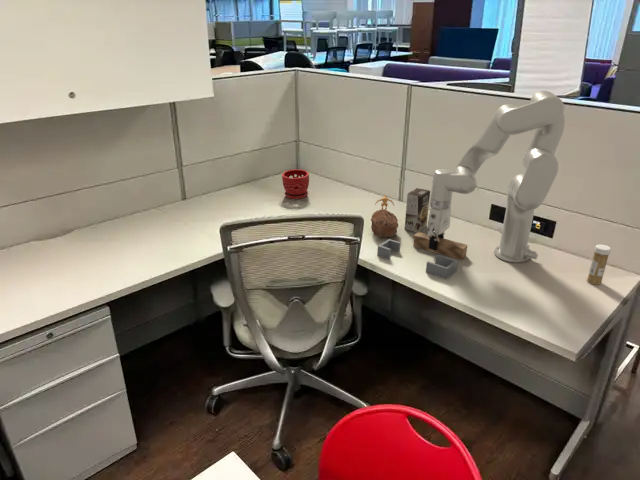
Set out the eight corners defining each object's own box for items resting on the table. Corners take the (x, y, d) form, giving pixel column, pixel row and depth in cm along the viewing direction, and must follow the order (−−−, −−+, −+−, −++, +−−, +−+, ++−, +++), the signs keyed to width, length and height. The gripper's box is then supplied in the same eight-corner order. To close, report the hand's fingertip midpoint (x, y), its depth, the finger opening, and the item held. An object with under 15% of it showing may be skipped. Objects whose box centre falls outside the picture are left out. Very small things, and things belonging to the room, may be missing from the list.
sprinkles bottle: (602, 286, 165) (612, 250, 160) (586, 283, 167) (596, 248, 161) (600, 280, 169) (610, 245, 163) (585, 277, 171) (595, 242, 165)
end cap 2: (456, 270, 176) (457, 260, 174) (446, 279, 170) (447, 269, 168) (436, 263, 180) (437, 254, 179) (425, 272, 175) (426, 262, 173)
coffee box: (417, 232, 205) (421, 196, 198) (403, 229, 208) (406, 193, 201) (427, 225, 211) (431, 190, 204) (414, 222, 215) (417, 187, 208)
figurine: (392, 217, 219) (394, 192, 214) (393, 223, 214) (395, 197, 209) (373, 217, 220) (375, 191, 215) (374, 222, 214) (375, 196, 209)
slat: (465, 256, 186) (467, 244, 184) (461, 260, 183) (463, 248, 181) (417, 243, 197) (418, 231, 194) (413, 246, 194) (414, 235, 192)
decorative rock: (367, 228, 209) (368, 206, 205) (393, 226, 210) (395, 205, 206) (373, 241, 198) (374, 218, 193) (401, 240, 198) (402, 217, 194)
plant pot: (282, 192, 249) (281, 169, 244) (308, 191, 251) (307, 168, 245) (283, 201, 238) (282, 178, 232) (310, 200, 239) (310, 176, 234)
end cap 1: (399, 251, 189) (400, 242, 187) (388, 259, 184) (389, 249, 182) (388, 248, 192) (389, 238, 190) (377, 255, 186) (377, 246, 185)
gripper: (439, 211, 174) (434, 257, 182) (459, 198, 186) (454, 242, 194) (420, 206, 178) (416, 251, 186) (441, 194, 190) (437, 237, 198)
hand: (435, 246), depth 190 cm, fingers closed on slat, 4 cm apart
